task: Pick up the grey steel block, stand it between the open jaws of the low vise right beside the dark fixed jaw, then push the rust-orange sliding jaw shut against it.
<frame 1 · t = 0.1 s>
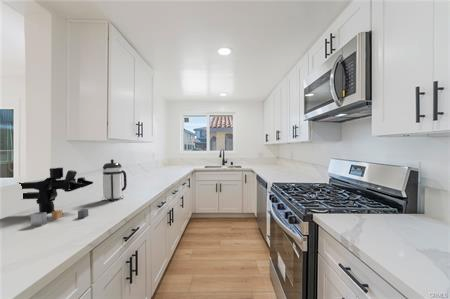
hand: (89, 183, 145), 17 cm above the worktop, tool horizontal, fingers open, 9 cm apart
steel block: (39, 225, 120), on the worktop
coffee press: (114, 199, 178), on the worktop
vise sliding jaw: (57, 214, 131), point 2 cm above the worktop, slide at 6.0 cm
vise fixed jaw: (83, 217, 132), on the worktop
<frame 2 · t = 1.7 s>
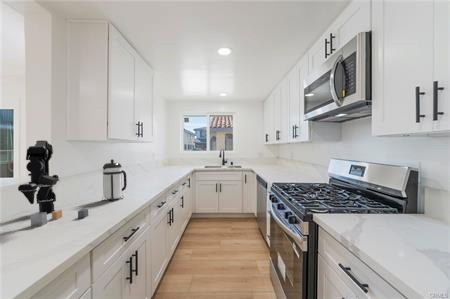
hand: (38, 201, 120), 12 cm above the worktop, tool pointing down, fingers open, 9 cm apart
nothing on the worktop moved.
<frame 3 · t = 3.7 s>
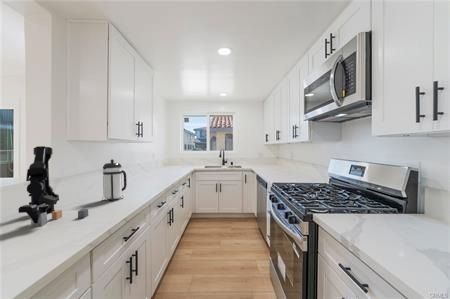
hand: (39, 221, 120), 2 cm above the worktop, tool pointing down, fingers closed on steel block, 4 cm apart
steel block: (39, 224, 120), on the worktop, touching gripper
everything else where it was.
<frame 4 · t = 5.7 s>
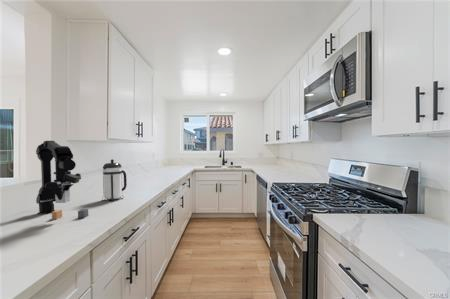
hand: (62, 198, 127), 11 cm above the worktop, tool pointing down, fingers closed on steel block, 4 cm apart
steel block: (62, 202, 127), point 10 cm above the worktop, touching gripper
everything else where it was.
when the fingers open (2 cm above the worktop, at t = 8.1 s): steel block stays where it is, on the worktop.
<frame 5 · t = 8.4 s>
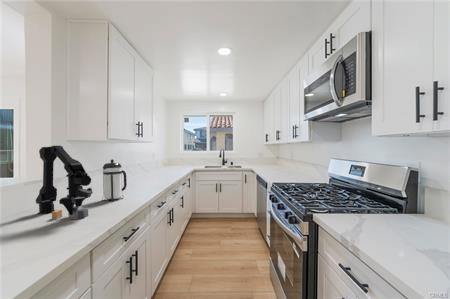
hand: (75, 212, 132), 2 cm above the worktop, tool pointing down, fingers open, 7 cm apart
steel block: (75, 217, 132), on the worktop
everything else where it was.
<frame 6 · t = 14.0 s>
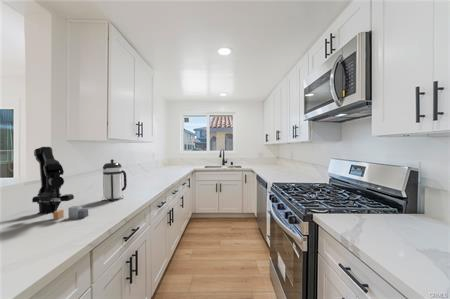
hand: (53, 213, 130), 3 cm above the worktop, tool pointing down, fingers closed
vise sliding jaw: (58, 214, 131), point 2 cm above the worktop, slide at 5.2 cm, touching gripper
everything else where it was.
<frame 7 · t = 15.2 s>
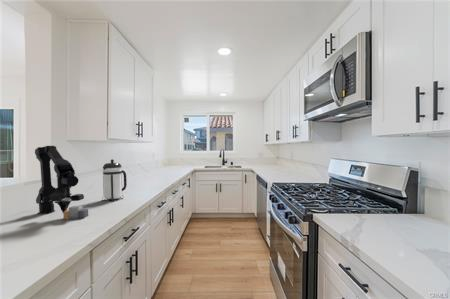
hand: (64, 213, 131), 3 cm above the worktop, tool pointing down, fingers closed
steel block: (75, 217, 132), on the worktop, touching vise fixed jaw, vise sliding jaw
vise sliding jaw: (68, 214, 131), point 2 cm above the worktop, slide at 0.0 cm, touching gripper, steel block
everything else where it was.
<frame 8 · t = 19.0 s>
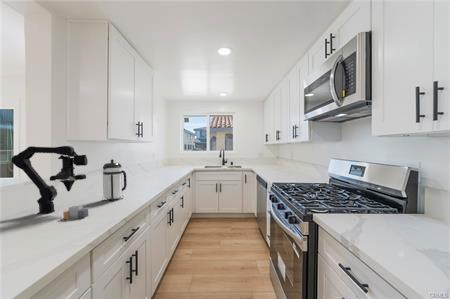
hand: (68, 191, 146), 12 cm above the worktop, tool pointing down, fingers closed
steel block: (75, 217, 132), on the worktop
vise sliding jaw: (68, 214, 131), point 2 cm above the worktop, slide at 0.0 cm
everything else where it was.
at the end: steel block 0.1 cm from the target spot, on the worktop; steel block tilted 0°; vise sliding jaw slide at 0.0 cm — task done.
